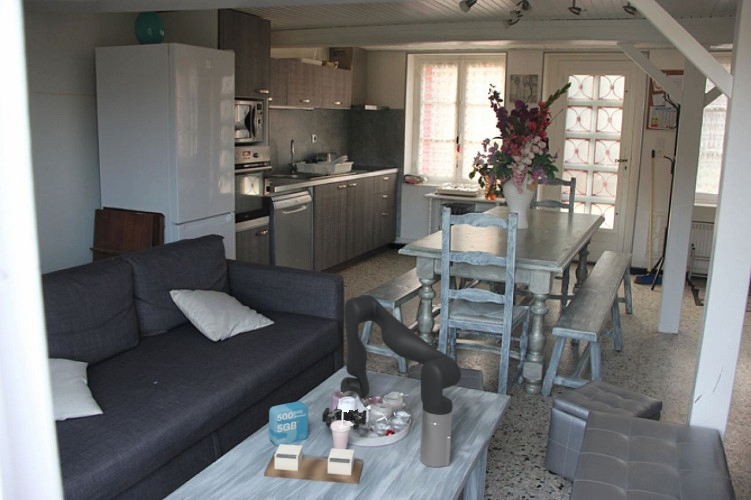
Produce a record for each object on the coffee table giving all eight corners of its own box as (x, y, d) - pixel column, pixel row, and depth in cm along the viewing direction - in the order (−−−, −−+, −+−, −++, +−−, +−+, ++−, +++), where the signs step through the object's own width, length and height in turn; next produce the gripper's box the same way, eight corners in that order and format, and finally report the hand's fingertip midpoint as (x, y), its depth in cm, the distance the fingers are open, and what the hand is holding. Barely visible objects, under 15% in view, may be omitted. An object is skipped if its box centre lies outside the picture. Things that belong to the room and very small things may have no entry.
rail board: (362, 464, 214) (363, 446, 213) (358, 483, 203) (358, 465, 201) (273, 456, 217) (274, 439, 216) (264, 476, 205) (264, 458, 204)
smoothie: (342, 459, 217) (343, 417, 214) (325, 454, 220) (327, 412, 217) (353, 451, 222) (355, 410, 219) (337, 446, 225) (338, 405, 223)
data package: (274, 447, 223) (274, 412, 221) (268, 441, 227) (269, 406, 225) (307, 439, 230) (308, 405, 227) (302, 433, 233) (302, 400, 231)
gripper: (328, 393, 237) (319, 413, 221) (369, 396, 236) (364, 416, 220) (327, 414, 238) (319, 435, 222) (369, 417, 237) (363, 438, 221)
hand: (341, 425), depth 221 cm, fingers open, 8 cm apart
